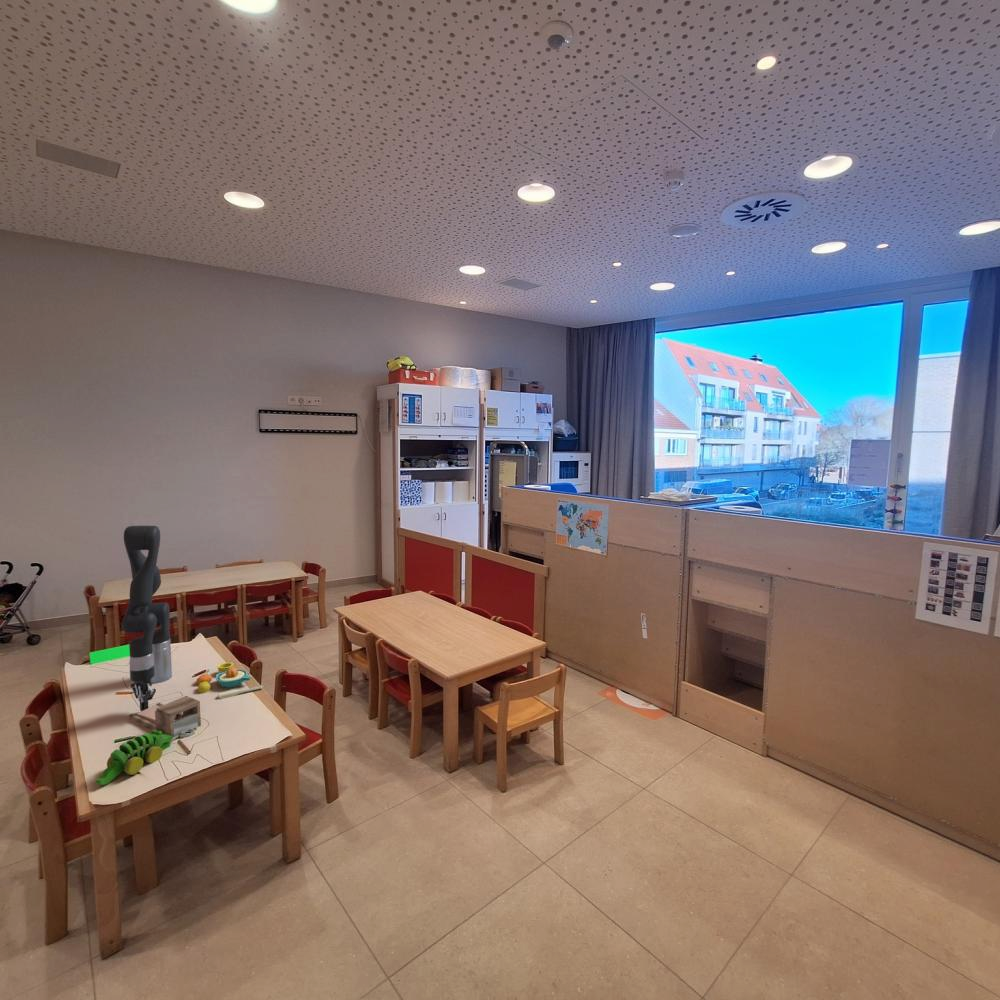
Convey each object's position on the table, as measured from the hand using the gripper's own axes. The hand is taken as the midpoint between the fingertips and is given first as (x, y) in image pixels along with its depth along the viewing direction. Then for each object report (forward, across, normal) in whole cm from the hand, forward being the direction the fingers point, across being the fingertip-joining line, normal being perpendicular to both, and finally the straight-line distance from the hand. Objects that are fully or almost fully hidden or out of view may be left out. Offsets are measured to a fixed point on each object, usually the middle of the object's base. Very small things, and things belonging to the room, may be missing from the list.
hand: (144, 710), depth 196 cm
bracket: (+3, -61, +20) cm, 64 cm away
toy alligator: (+2, +29, -14) cm, 32 cm away
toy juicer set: (+2, +6, +28) cm, 29 cm away
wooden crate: (+2, +21, 0) cm, 21 cm away
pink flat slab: (+2, +8, 0) cm, 8 cm away
